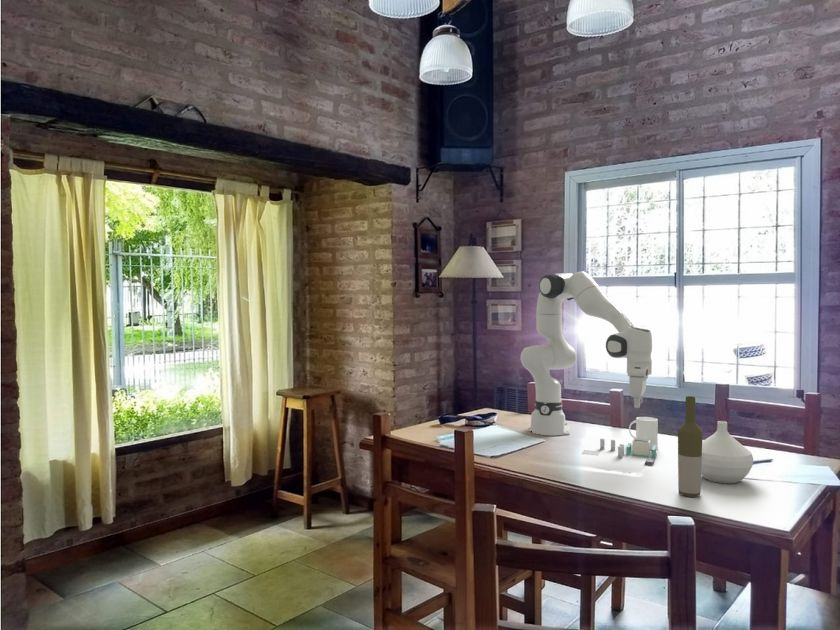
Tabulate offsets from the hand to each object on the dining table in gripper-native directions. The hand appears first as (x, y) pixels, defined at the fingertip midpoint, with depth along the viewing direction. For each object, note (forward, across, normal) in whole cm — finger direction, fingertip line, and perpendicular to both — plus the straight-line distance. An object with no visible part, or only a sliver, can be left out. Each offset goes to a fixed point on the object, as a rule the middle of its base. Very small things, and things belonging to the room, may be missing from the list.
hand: (638, 405), depth 233 cm
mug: (+20, -15, +1) cm, 25 cm away
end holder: (+18, +1, +2) cm, 18 cm away
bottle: (+19, +41, +19) cm, 49 cm away
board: (+19, +4, -6) cm, 21 cm away
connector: (+18, +1, +2) cm, 18 cm away
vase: (+19, +19, +28) cm, 39 cm away
